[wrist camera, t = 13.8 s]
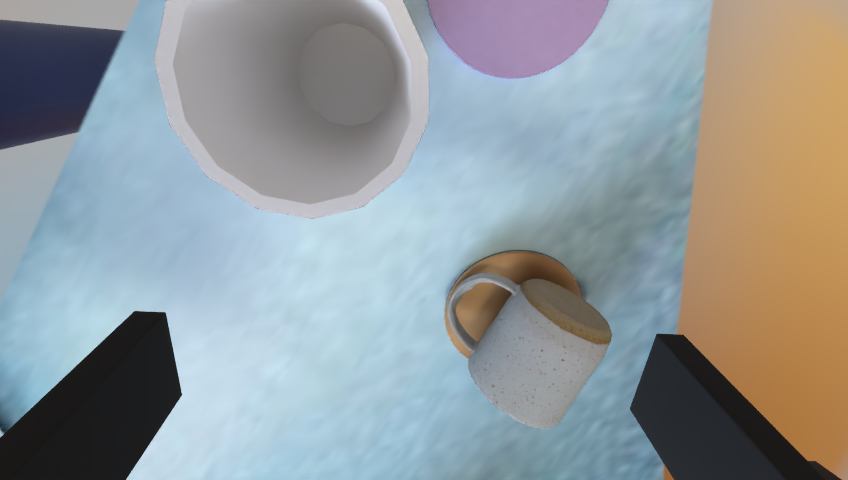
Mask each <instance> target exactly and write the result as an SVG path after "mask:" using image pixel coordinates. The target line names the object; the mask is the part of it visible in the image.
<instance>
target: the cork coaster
mask: <svg viewBox="0 0 848 480" xmlns="http://www.w3.org/2000/svg"><path fill="white" fill-rule="evenodd" d="M478 273H493V274H497V275H500V276H503V277H506V278H508V279H510V280H511V281H512V282H514V283H515V284H517V285H521V284H522V283H523V282H525V281H526V280H530V279H544V280H547V281H550V282H553V283H555V284H557V285H559V286H562V287H563V288H565V289H567V290H569V291H571V292H573V293H574V294H576V295H577V296H579V297H580V298H582V294H581V291H580V288H579V286H578V284H577V282H576V280H575V278H574V277H573V276H572V274H571V273H570V272H569V271H568V270H567V269H566V268H565V267H564V266H563V265H562V264H561V263H559V262H558V261H556V260H554V259H553V258H551V257H548V256H546V255H543V254H540V253H536V252H530V251H509V252H503V253H499V254H495V255H492V256H490V257H487V258H485V259H483V260H481V261H479V262H477V263H476V264H474V265H473V266H471V267H470V268H469V269H468V270H467V271H465V272H464V273H463V274H462V275H461V276H460V278H459V279H458V280H457V281H456V283H455V284H454V286H453V287H452V289H451V291H450V293H449V295H448V298H447V301H446V306H445V324H446V329H447V332H448V335H449V337H450V339H451V341H452V343H453V344H454V346H455V347H456V348H457V349H458V350H459V351H460V353H462V354H463V355H464V356H465V357H467V358H468V359H469V356H470V354H471V351H470V350H468V348H467V347H465V346H464V345H463V343H462V342H461V341H460V340H459V339H458V338H457V336H456V335H455V333H454V332H453V330H452V328H451V326H450V323H449V320H448V316H447V305H448V301H449V299H450V297H451V295H452V294H453V292H454V291H455V289H456V288H457V287H458V286H459V285H460V283H461V282H462V281H464V280H465V279H467V278H468V277H470V276H472V275H475V274H478ZM511 295H512V293H511V292H510V291H509V290H506V289H505V288H503V287H501V286H499V285H496V284H494V283H488V282H479V283H478V284H476V285H475V286H474V288H473V289H471V290H468V291H467V292H466V293H465V294H464V295H463V297H462V298H461V299H460V301H459V302H458V304H457V307H456V314H457V317H458V320H459V322H460V324H461V325H462V326H463V328H464V329H465V330H466V332H467V333H468V334H469V335H470V336H471V337H472V338H473V339H474V340H476V341H479V340H480V339H481V337H482V336H483V334H484V333H485V332H486V330H487V329H488V327H489V326H490V325H491V323H492V322H493V321H494V320H495V318H496V317H497V315H498V314H499V311H500V310H501V309H502V307H503V306H504V304H505V303H506V301H507V300H508V299H509V297H510V296H511Z"/></svg>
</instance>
